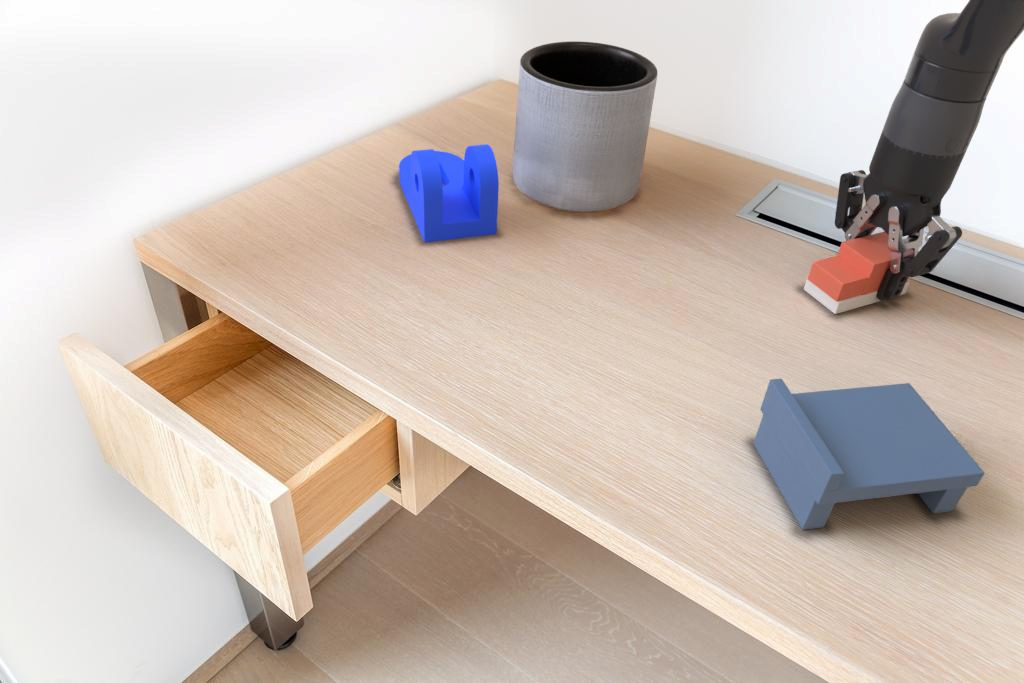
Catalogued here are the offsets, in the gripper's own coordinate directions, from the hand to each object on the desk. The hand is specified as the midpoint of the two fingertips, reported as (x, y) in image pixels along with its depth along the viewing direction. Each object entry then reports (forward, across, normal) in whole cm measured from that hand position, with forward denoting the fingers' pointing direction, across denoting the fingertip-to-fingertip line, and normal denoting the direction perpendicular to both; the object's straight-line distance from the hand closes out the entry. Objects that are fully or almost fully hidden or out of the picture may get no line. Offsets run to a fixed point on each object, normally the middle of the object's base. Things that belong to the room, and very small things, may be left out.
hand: (865, 283), depth 85 cm
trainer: (+1, 0, +1) cm, 2 cm away
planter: (+1, +31, +18) cm, 36 cm away
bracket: (+1, +34, +35) cm, 49 cm away
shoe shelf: (+1, -20, +21) cm, 29 cm away
